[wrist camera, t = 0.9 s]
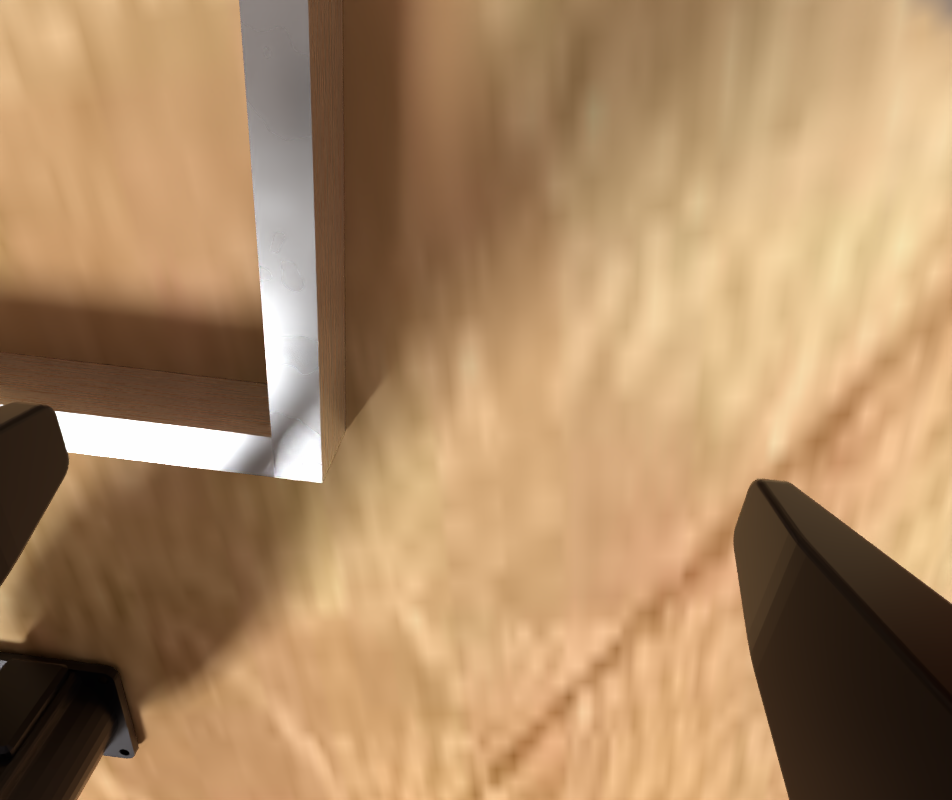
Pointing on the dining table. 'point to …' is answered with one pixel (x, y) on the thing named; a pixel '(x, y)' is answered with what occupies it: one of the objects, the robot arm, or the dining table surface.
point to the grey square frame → (281, 281)
